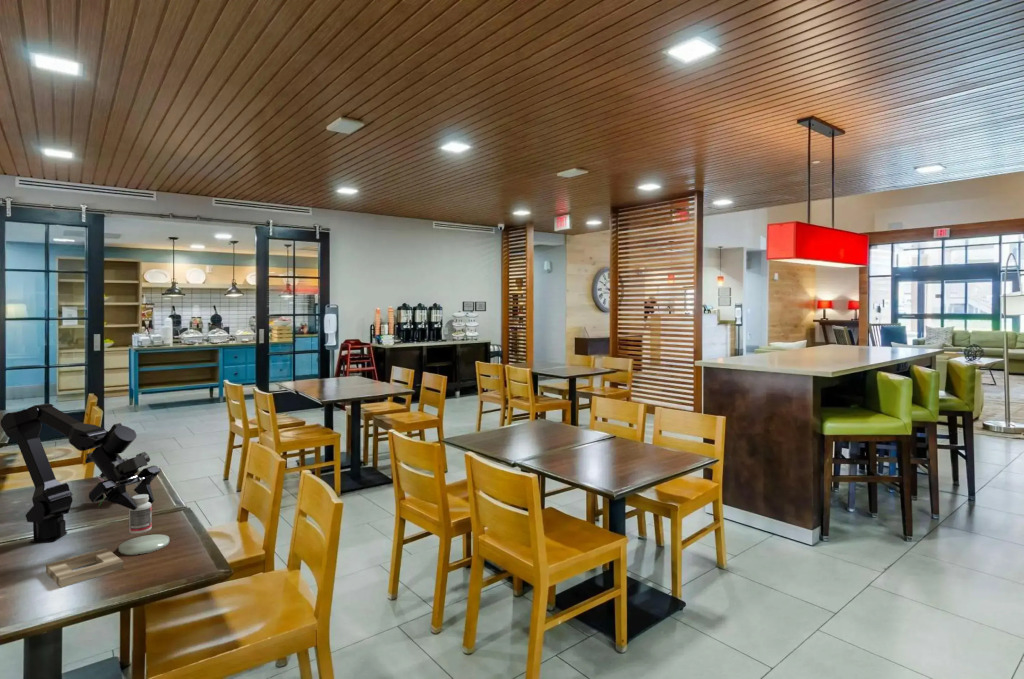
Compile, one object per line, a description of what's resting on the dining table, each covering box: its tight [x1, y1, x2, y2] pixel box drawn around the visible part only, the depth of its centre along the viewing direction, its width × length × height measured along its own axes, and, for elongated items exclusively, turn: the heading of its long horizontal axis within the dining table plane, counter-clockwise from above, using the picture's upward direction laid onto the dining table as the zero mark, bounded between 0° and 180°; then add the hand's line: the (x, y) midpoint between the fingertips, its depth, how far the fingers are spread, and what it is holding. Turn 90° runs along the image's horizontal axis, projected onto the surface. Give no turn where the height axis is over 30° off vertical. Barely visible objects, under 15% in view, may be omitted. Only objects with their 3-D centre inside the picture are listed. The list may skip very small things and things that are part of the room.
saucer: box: [118, 534, 170, 556], centre depth 158 cm, size 12×12×1 cm
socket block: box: [45, 547, 124, 589], centre depth 142 cm, size 13×13×2 cm
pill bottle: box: [128, 494, 153, 534], centre depth 156 cm, size 5×5×10 cm
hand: (144, 505), depth 156 cm, fingers closed on pill bottle, 5 cm apart
